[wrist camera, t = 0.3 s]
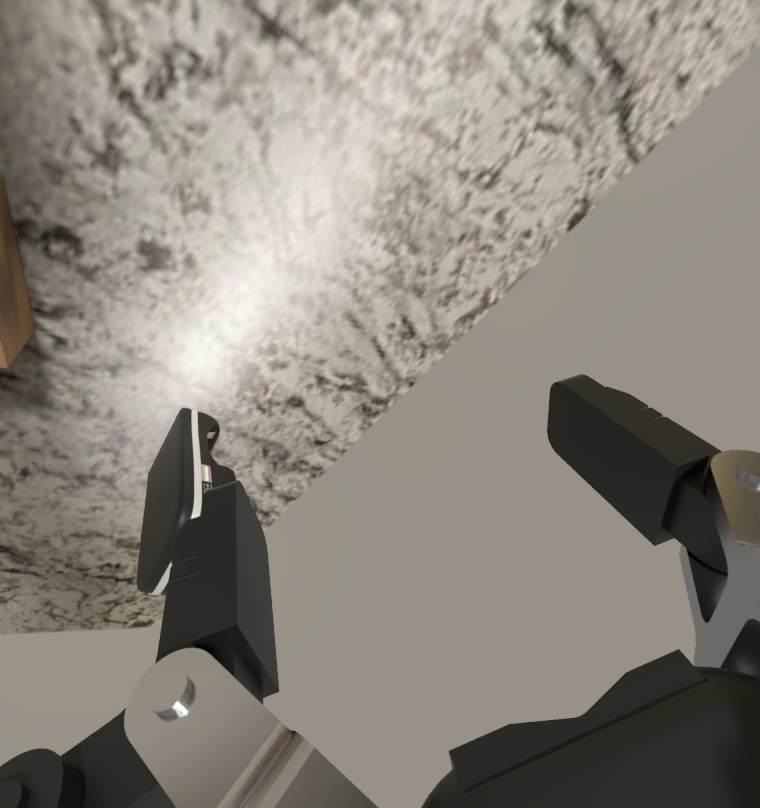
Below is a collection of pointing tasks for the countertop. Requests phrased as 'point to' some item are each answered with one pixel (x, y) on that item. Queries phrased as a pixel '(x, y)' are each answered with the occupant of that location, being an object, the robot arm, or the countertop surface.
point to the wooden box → (11, 290)
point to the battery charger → (177, 493)
